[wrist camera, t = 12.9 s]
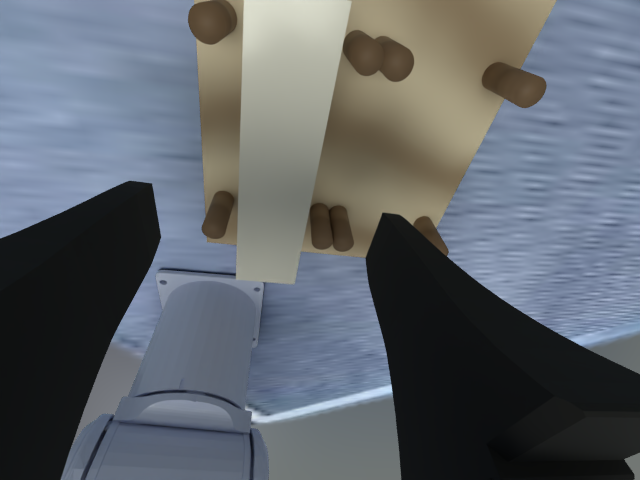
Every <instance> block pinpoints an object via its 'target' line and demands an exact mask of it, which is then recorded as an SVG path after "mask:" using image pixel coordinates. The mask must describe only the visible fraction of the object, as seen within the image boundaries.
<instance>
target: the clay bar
mask: <svg viewBox="0 0 640 480" xmlns="http://www.w3.org/2000/svg"><path fill="white" fill-rule="evenodd" d="M351 3H352V1H349V0H244V19H243V53H242V87H241V121H240V156H239V190H238V224H237V258H236V280H246V281H258V282H270V283H282V284H295V279H296V274H297V269H298V264H299V259H300V254H301V249H302V244H303V239H304V235H305V230H306V225H307V220H308V215H309V210H310V205H311V200H312V195H313V190H314V185H315V180H316V175H317V170H318V166H319V161H320V156H321V151H322V146H323V141H324V136H325V131H326V126H327V121H328V116H329V111H330V106H331V101H332V96H333V92H334V87H335V82H336V77H337V72H338V67H339V62H340V57H341V52H342V47H343V42H344V37H345V32H346V27H347V23H348V18H349V13H350V8H351Z"/></svg>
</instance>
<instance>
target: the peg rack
mask: <svg viewBox="0 0 640 480" xmlns="http://www.w3.org/2000/svg"><path fill="white" fill-rule="evenodd" d="M349 1H352V3H351V8H350V13H349V18H348V23H347V27H346V32H345V37H344V42H343V47H342V52H341V57H340V62H339V67H338V72H337V77H336V82H335V87H334V92H333V96H332V101H331V106H330V111H329V116H328V121H327V126H326V131H325V136H324V141H323V146H322V151H321V156H320V161H319V166H318V170H317V175H316V180H315V185H314V190H313V195H312V200H311V205H310V210H309V215H308V220H307V225H306V230H305V235H304V239H303V244H302V249H301V251H302V252H312V253H322V254H333V255H343V256H353V257H363V258H366V255H367V252H368V250H369V247H370V244H371V242H372V239H373V237H374V234H375V231H376V229H377V226H378V223H379V221H380V218H381V215H382V213H391V214H399V215H401V216H402V217H404V218H405V219H406V220H407V221H408V222H410V223H411V224H412V225H413V226H414V227H415V228H416V229H417V230H418V231H419V232H420V233H422V234H423V235H424V236H425V237H426V238H427V239H428V240H429V241H430V242H431V243H432V244H433V245H435V246H436V247H437V248H438V249H439V250H440V251H441V252H442V253H443V254H444V255H446V256H447V255H448V252H449V251H448V248H447V247H446V245H445V243H444V241H443V240H442V238H441V236H440V234H439V233H438V231H437V229H436V227H437V225H438V223H439V222H440V220H441V218H442V216H443V214H444V212H445V210H446V208H447V206H448V205H449V203H450V201H451V199H452V197H453V195H454V193H455V191H456V189H457V188H458V186H459V184H460V182H461V180H462V178H463V176H464V174H465V172H466V171H467V169H468V167H469V165H470V163H471V161H472V159H473V157H474V155H475V154H476V152H477V150H478V148H479V146H480V144H481V142H482V140H483V138H484V137H485V135H486V133H487V131H488V129H489V127H490V125H491V123H492V121H493V120H494V118H495V116H496V114H497V112H498V110H499V108H500V106H501V104H502V103H503V101H504V99H506V100H508V101H510V102H512V103H514V104H515V105H517V106H519V107H522V108H527V107H530V106H533V105H534V104H536V103H537V102H538V101H539V100H540V99H541V98H542V96H543V95H544V93H545V90H546V81H545V80H544V79H543V78H542V77H539V76H537V75H534V74H531V73H529V72H526V71H523V70H521V67H522V65H523V63H524V61H525V59H526V57H527V55H528V53H529V52H530V50H531V48H532V46H533V44H534V42H535V40H536V38H537V36H538V35H539V33H540V31H541V29H542V27H543V25H544V23H545V21H546V19H547V18H548V16H549V14H550V12H551V10H552V8H553V6H554V4H555V2H556V1H557V0H349ZM243 19H244V0H194V6H192V8H191V9H190V11H189V15H188V23H189V27H190V29H191V32H192V33H193V35H194V36H195V37H196V42H197V61H198V80H199V99H200V118H201V137H202V156H203V174H204V193H205V212H206V217H205V220H204V223H203V225H202V232H203V233H204V235H206V236H207V242H211V243H221V244H231V245H237V224H238V190H239V156H240V121H241V87H242V53H243Z"/></svg>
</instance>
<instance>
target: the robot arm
mask: <svg viewBox="0 0 640 480" xmlns="http://www.w3.org/2000/svg"><path fill="white" fill-rule="evenodd" d="M160 239H161V234H160V228H159V222H158V216H157V210H156V205H155V199H154V193H153V187H152V183H144V182H136V181H128V182H125V183H123V184H120V185H118V186H116V187H114V188H112V189H109V190H107V191H105V192H103V193H101V194H99V195H97V196H95V197H93V198H91V199H89V200H87V201H85V202H83V203H81V204H79V205H76V206H74V207H72V208H70V209H68V210H66V211H64V212H62V213H60V214H57V215H55V216H53V217H50V218H48V219H46V220H44V221H41V222H39V223H37V224H34V225H32V226H30V227H28V228H25V229H23V230H21V231H18V232H16V233H13V234H11V235H8V236H6V237H3V238H0V480H269V459H268V451H267V446H266V444H265V442H264V440H263V438H262V436H261V433H260V432H259V430H258V429H254V428H250V426H251V416H252V412H251V411H246V410H245V403H246V395H247V386H248V378H249V369H250V361H251V352H252V348H255V347H256V346H257V345H258V336H259V326H260V317H261V308H262V299H263V290H264V282H258V281H246V280H236V276H232V275H220V274H208V273H196V272H184V271H171V270H159V271H158V272H157V274H156V281H157V286H158V291H159V296H160V300H161V305H162V310H163V311H162V314H161V316H160V318H159V321H158V323H157V326H156V328H155V331H154V333H153V336H152V338H151V341H150V343H149V346H148V348H147V351H146V353H145V355H144V358H143V360H142V363H141V365H140V368H139V370H138V373H137V375H136V378H135V380H134V383H133V385H132V387H131V390H130V392H129V395H128V397H122V399H121V401H120V403H119V406H118V408H117V411H116V413H115V415H113V414H102V415H100V416H99V417H98V418H97V419H96V420H94V421H93V422H91V423H90V424H88V425H87V426H86V427H85V428H84V429H83V430H82V431H81V433H80V434H79V436H78V437H77V439H76V441H75V442H74V444H73V446H72V443H73V440H74V437H75V434H76V431H77V429H78V425H79V423H80V420H81V417H82V414H83V411H84V408H85V406H86V403H87V401H88V398H89V395H90V393H91V390H92V387H93V385H94V382H95V379H96V377H97V374H98V372H99V369H100V367H101V364H102V362H103V359H104V357H105V354H106V352H107V349H108V347H109V344H110V342H111V340H112V338H113V336H114V334H115V332H116V330H117V327H118V326H119V324H120V322H121V320H122V318H123V316H124V315H125V313H126V311H127V309H128V307H129V305H130V303H131V302H132V300H133V298H134V296H135V294H136V292H137V291H138V289H139V287H140V285H141V283H142V281H143V279H144V278H145V276H146V274H147V272H148V270H149V268H150V266H151V264H152V262H153V259H154V256H155V254H156V251H157V248H158V245H159V242H160ZM366 266H367V275H368V282H369V287H370V291H371V294H372V298H373V302H374V306H375V309H376V313H377V317H378V321H379V324H380V328H381V332H382V335H383V339H384V343H385V348H386V352H387V358H388V364H389V371H390V377H391V384H392V391H393V399H394V406H395V413H396V424H397V433H398V441H399V442H398V443H399V452H400V467H401V480H634V473H633V472H632V470H631V469H630V468H629V466H628V465H627V463H626V462H625V460H624V459H625V458H628V457H630V456H632V455H635V454H637V453H640V374H638V373H636V372H634V371H632V370H630V369H627V368H625V367H623V366H621V365H619V364H617V363H615V362H613V361H610V360H608V359H606V358H604V357H602V356H600V355H598V354H596V353H594V352H592V351H590V350H588V349H586V348H584V347H582V346H580V345H578V344H577V343H575V342H573V341H571V340H569V339H567V338H565V337H563V336H562V335H560V334H558V333H556V332H554V331H553V330H551V329H549V328H547V327H546V326H544V325H542V324H540V323H539V322H537V321H535V320H534V319H532V318H530V317H529V316H527V315H526V314H524V313H522V312H521V311H519V310H518V309H516V308H514V307H513V306H511V305H510V304H508V303H507V302H505V301H504V300H502V299H501V298H499V297H498V296H497V295H495V294H494V293H492V292H491V291H490V290H488V289H487V288H485V287H484V286H483V285H481V284H480V283H478V282H477V281H476V280H475V279H473V278H472V277H471V276H469V275H468V274H467V273H466V272H465V271H463V270H462V269H461V268H460V267H458V266H457V265H456V264H455V263H454V262H453V261H451V260H450V259H449V258H448V257H447V256H446V255H444V254H443V253H442V252H441V251H440V250H439V249H438V248H437V247H436V246H435V245H433V244H432V243H431V242H430V241H429V240H428V239H427V238H426V237H425V236H424V235H423V234H422V233H420V232H419V231H418V230H417V229H416V228H415V227H414V226H413V225H412V224H411V223H410V222H408V221H407V220H406V219H405V218H404V217H402V216H401V215H399V214H391V213H382V215H381V218H380V221H379V223H378V226H377V229H376V231H375V234H374V237H373V239H372V242H371V244H370V247H369V250H368V252H367V255H366ZM164 280H165V281H164ZM256 287H258V288H256ZM71 446H72V448H71Z"/></svg>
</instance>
